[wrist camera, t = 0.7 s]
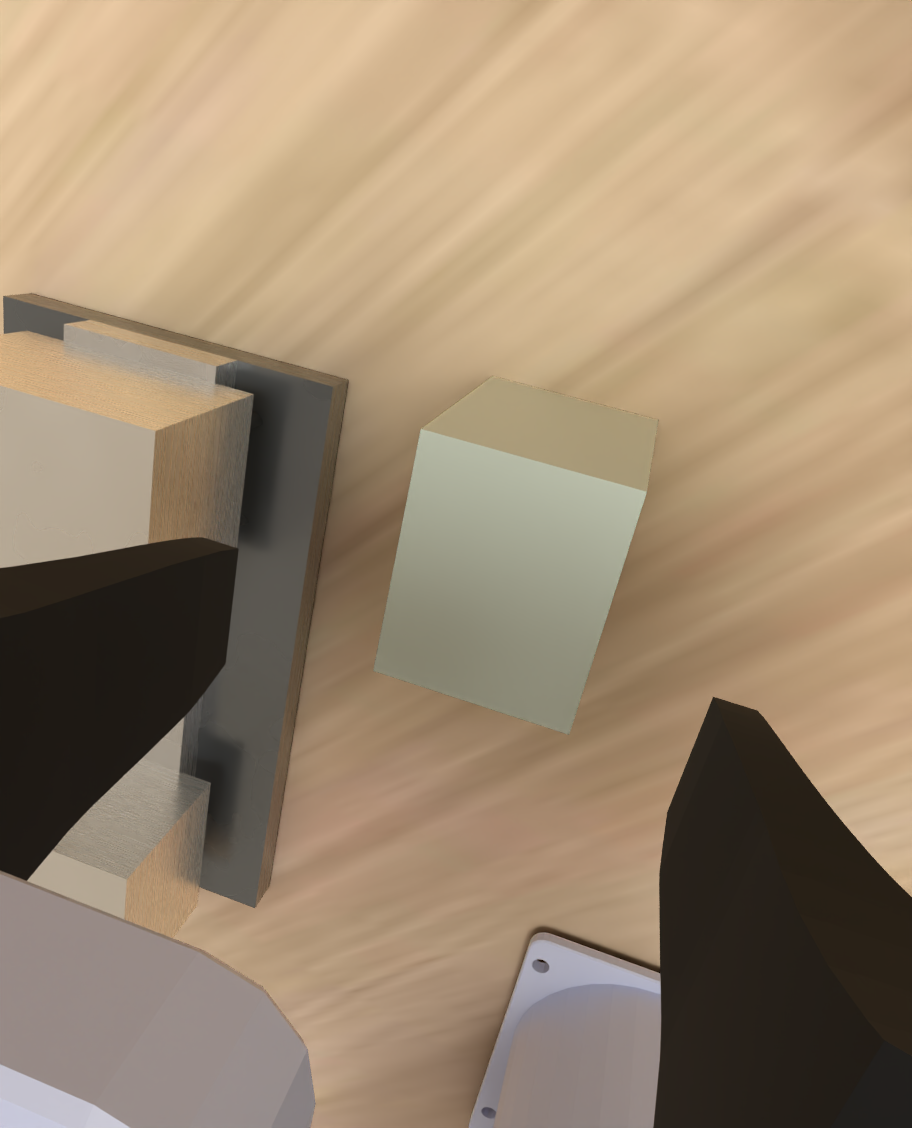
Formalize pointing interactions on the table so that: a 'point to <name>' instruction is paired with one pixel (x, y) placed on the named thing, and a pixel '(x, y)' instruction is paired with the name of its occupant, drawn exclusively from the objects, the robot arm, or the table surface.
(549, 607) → the block
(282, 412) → the rail board
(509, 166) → the table surface
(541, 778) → the table surface
